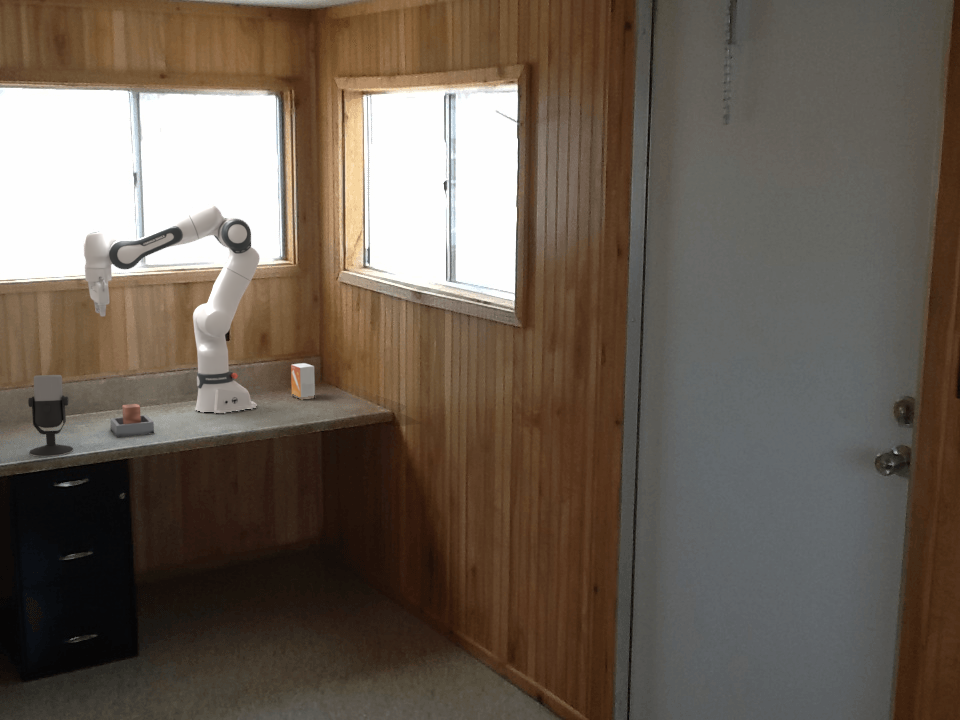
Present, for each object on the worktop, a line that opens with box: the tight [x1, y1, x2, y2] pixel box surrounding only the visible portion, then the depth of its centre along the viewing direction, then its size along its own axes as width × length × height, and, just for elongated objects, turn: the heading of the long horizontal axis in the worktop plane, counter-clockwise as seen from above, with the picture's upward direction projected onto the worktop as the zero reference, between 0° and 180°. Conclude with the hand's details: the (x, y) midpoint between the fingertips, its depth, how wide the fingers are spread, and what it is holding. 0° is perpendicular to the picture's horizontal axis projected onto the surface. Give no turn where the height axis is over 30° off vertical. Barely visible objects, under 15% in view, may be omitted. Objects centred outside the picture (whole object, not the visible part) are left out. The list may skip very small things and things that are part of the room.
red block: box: [121, 403, 142, 424], centre depth 389 cm, size 5×5×8 cm
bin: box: [109, 414, 155, 438], centre depth 389 cm, size 12×12×4 cm
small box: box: [290, 362, 316, 397], centre depth 443 cm, size 8×6×13 cm
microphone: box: [27, 374, 74, 457], centre depth 361 cm, size 13×13×25 cm
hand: (100, 314), depth 406 cm, fingers open, 8 cm apart
